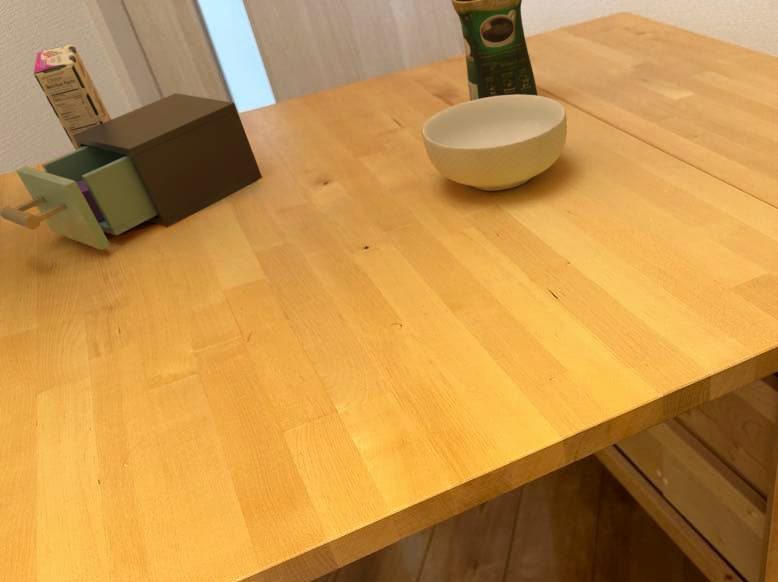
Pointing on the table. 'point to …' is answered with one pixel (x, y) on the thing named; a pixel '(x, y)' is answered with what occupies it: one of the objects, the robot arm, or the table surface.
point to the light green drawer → (67, 204)
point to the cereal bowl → (496, 140)
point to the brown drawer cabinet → (181, 152)
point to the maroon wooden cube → (90, 201)
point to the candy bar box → (69, 90)
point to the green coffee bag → (495, 48)
